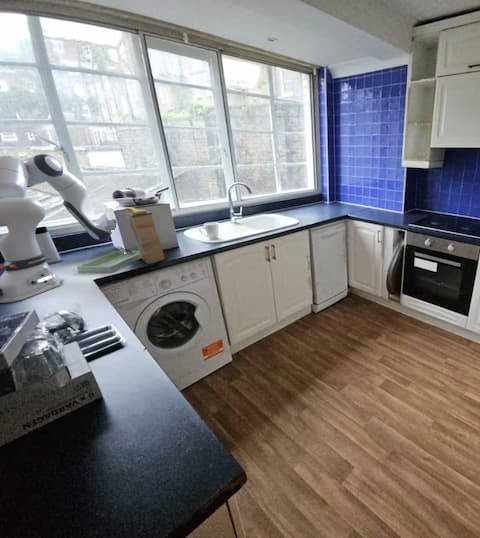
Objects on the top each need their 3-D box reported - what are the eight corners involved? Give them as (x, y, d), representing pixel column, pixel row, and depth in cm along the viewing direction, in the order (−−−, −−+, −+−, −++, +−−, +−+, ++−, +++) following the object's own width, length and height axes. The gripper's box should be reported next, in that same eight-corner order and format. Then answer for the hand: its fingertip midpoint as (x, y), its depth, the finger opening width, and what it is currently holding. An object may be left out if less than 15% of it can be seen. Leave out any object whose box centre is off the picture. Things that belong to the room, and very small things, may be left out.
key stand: (166, 259, 160) (151, 212, 150) (148, 264, 154) (131, 215, 144) (158, 255, 167) (144, 210, 156) (141, 260, 160) (125, 213, 150)
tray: (112, 272, 146) (110, 266, 144) (79, 272, 147) (76, 266, 145) (146, 255, 167) (145, 250, 166) (117, 255, 168) (115, 250, 167)
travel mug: (52, 264, 157) (34, 228, 149) (42, 264, 159) (25, 228, 151) (65, 260, 163) (49, 225, 155) (55, 259, 164) (39, 224, 156)
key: (147, 212, 149) (146, 210, 149) (135, 214, 146) (134, 212, 145) (135, 208, 160) (134, 206, 160) (124, 210, 156) (123, 208, 156)
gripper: (102, 224, 164) (103, 214, 155) (144, 217, 179) (148, 208, 169) (107, 234, 165) (109, 225, 155) (149, 226, 179) (152, 218, 169)
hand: (129, 216), depth 162 cm, fingers open, 8 cm apart
